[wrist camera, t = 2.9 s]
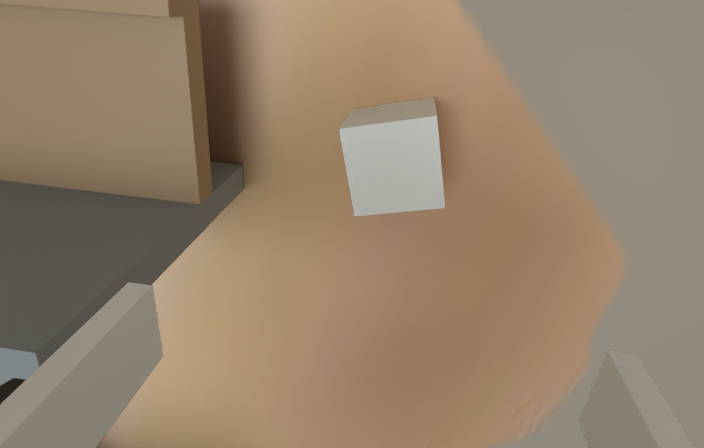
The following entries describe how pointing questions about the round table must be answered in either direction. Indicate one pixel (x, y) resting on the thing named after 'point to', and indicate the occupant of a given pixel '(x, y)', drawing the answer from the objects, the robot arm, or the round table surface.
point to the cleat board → (97, 161)
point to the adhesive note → (393, 157)
